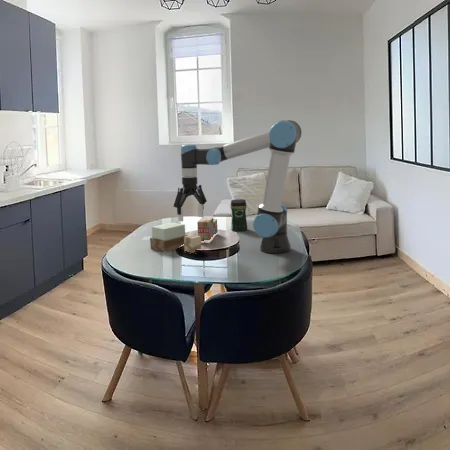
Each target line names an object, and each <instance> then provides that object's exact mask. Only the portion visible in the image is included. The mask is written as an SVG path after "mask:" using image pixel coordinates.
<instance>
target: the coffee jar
mask: <svg viewBox="0 0 450 450" xmlns="http://www.w3.org/2000/svg"><path fill="white" fill-rule="evenodd" d="M247 208H248V207H247V201H246V199H245V198H244V199H243V198H237V199H231V200H230V210H231V226H230V228H231V229H230V230H231V231H232V232H245V231H247V230H248V222H247V221H248V220H247V215H246V213H247V211H246V210H247Z"/></svg>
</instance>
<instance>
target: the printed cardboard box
mask: <svg viewBox="0 0 450 450" xmlns="http://www.w3.org/2000/svg"><path fill="white" fill-rule="evenodd" d="M200 218H201V219H199V220H198V221H197V236H201V241H204V240H210V239H211V237H213V235H214V234H216V233H217V232H218V233H219V231H218V229H219V228H218V219H217V218H215V219H214V217H212V216H207V217H206V216H203V217H200Z"/></svg>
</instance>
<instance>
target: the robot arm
mask: <svg viewBox="0 0 450 450" xmlns="http://www.w3.org/2000/svg"><path fill="white" fill-rule="evenodd" d="M301 138H302V128H301V126H300V124H298V122H297V121H294V120H291V119H290V120H289V119H288V120H287V119H286V120H282V119H281V120H279V121H276V122H275V123H274V124H273V125H272V126H271V127H270V129H269V130H267V131H265V132H262V133H261V132H260V133H259V134H258V133H257V134H254V135H251V136H248V137H245V138H241V139H239V140H236V141H232V142H228V143H225V144H223V145H219V146H216V147H210V148H197V145H196V144H182V145H181V147H180V157H181V158H180V160H181V161H180V162H181V176H182V177H181V184H182V187H178V188H177V195H176V196H175V200H174V203H173V207H174V208H176V212H177V213H176V214H177V216H178V217H177V218H178V220H177V221H178V222H184V210H183V206H184V203H186V199H188V197H191V196H193V197H194V198H195V199H196V200H197V202H198V203H197V209H198V217H199V218H203V217H204V209H205V208H204V205H205V204H206V203H207V202H208V201H207V197H206V196H205V193H204V191H203V188H202V187H203V185H202V184H198V177H197V176H198V165H199V166H200V165H201V166H202V165H205V166H206V165H209V166H210V165H211V166H217V165H219V164H220V163H221V162H224V161H227V160H231V159H233V158H236V157H238V158H239V157H240V156H245V155H247V154H251V153H254V152H258V151H262V150H265V149H269V151H270V153H271V154H270V160H269V166H268V171H267V177H266V181H265V187H264V193H263V199H262V203H260V204H259V205H258V208H257V213H256V216H255V218H254V220H253V222H252V225H253V229H254V231H255V233H256V234H257V235H258V236H260V237H262V238H261V239H262V240H261V243H260V247H259V248H260V251H261V252H263V253H267V254H283V253H287V252H290V251H291V243H290V240H289V237H288V209H287V205H285V204H282V200H283V194H284V190H285V185H286V180H287V174H288V169H289V164H290V160H291V159H290V158H291V156H292V155H293V154H295V150H296V147H297V146H296V145H297V143H298V142H299V141H300V139H301Z"/></svg>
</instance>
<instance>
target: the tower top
mask: <svg viewBox="0 0 450 450" xmlns="http://www.w3.org/2000/svg"><path fill="white" fill-rule="evenodd" d="M185 225H186V224H183V223H178V222H173V221H172V222H167V223H163V224H159V225H154V226H151V233H152V234H151V236H152V237H153V238H155V239H159V240H164V241H165V240H170V239H174V238H178V237H182V236H185V235H186V226H185ZM152 237H151V238H152Z"/></svg>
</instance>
